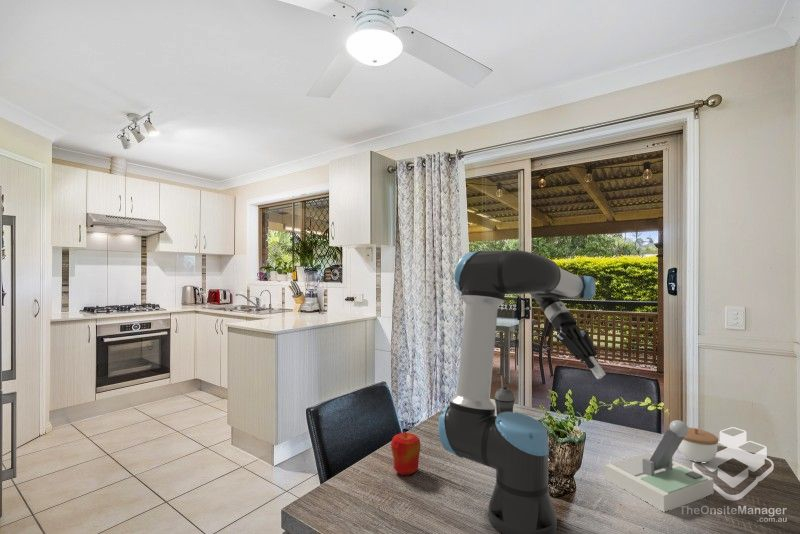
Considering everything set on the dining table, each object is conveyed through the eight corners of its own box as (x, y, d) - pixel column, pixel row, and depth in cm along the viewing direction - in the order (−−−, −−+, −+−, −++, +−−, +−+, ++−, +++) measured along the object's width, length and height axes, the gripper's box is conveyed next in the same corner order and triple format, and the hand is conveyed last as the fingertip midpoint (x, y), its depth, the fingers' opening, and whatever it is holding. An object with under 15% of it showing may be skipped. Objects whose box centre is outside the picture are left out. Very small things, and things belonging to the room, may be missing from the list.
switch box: (605, 479, 107) (605, 452, 107) (652, 465, 115) (652, 440, 115) (663, 512, 92) (663, 480, 92) (713, 494, 100) (713, 464, 100)
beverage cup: (517, 434, 136) (517, 378, 137) (497, 434, 136) (496, 378, 137) (511, 426, 144) (511, 373, 144) (492, 426, 144) (492, 373, 144)
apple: (397, 482, 105) (397, 439, 105) (386, 467, 113) (386, 427, 113) (425, 475, 108) (425, 434, 109) (413, 462, 116) (413, 423, 116)
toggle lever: (642, 462, 105) (668, 418, 99) (655, 459, 107) (681, 415, 100) (656, 475, 101) (683, 430, 95) (668, 471, 103) (696, 427, 97)
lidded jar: (678, 447, 127) (678, 419, 127) (720, 458, 119) (720, 428, 119) (671, 458, 119) (671, 428, 119) (715, 471, 111) (715, 439, 112)
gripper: (551, 311, 130) (593, 372, 115) (580, 310, 135) (623, 368, 120) (540, 325, 135) (579, 385, 119) (568, 323, 140) (608, 380, 124)
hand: (601, 376), depth 120 cm, fingers closed
